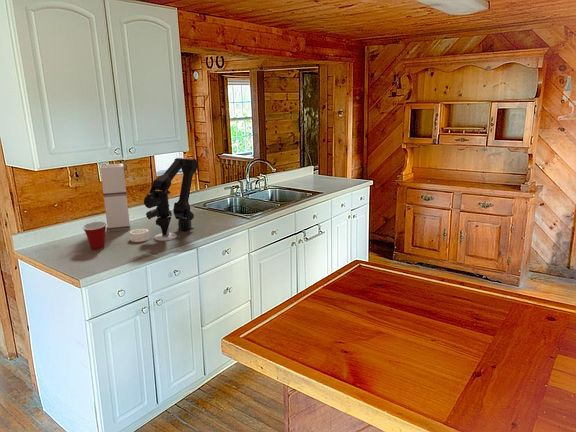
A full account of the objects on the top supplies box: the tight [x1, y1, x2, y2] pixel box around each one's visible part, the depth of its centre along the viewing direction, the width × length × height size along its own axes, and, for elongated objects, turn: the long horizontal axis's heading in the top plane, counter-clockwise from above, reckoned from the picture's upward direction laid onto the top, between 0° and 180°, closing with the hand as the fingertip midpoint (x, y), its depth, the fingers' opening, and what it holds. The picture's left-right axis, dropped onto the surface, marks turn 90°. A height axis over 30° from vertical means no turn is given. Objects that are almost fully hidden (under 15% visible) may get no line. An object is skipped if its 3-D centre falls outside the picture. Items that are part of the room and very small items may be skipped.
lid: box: [154, 227, 178, 242], centre depth 227 cm, size 11×11×5 cm
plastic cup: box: [81, 221, 107, 251], centre depth 212 cm, size 11×11×12 cm
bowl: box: [129, 228, 150, 243], centre depth 225 cm, size 9×9×4 cm
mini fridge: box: [99, 163, 131, 233], centre depth 242 cm, size 11×11×35 cm
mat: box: [149, 235, 182, 243], centre depth 227 cm, size 11×11×1 cm
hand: (165, 233), depth 227 cm, fingers open, 7 cm apart
